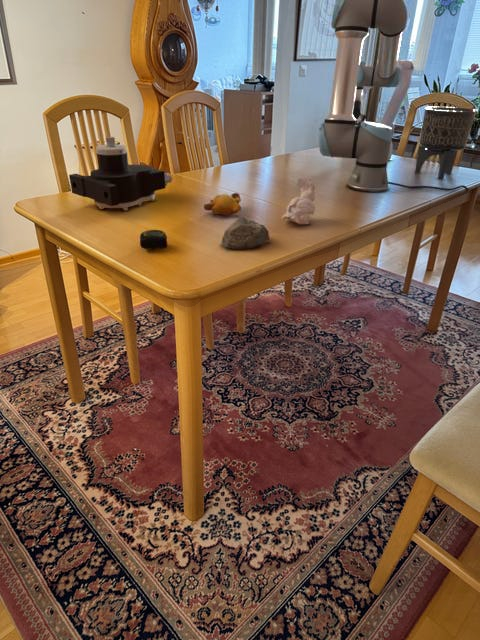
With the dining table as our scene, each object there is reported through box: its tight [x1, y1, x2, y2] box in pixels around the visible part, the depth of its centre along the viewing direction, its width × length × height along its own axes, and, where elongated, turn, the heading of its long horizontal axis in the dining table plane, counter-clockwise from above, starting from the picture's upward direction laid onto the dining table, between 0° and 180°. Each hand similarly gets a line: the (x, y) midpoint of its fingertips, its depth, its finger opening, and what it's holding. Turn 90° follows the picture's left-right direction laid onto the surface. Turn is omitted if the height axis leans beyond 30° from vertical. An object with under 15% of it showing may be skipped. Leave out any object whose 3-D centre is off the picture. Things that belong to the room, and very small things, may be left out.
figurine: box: [281, 177, 316, 225], centre depth 135 cm, size 8×15×13 cm, turn 145°
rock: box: [221, 216, 270, 250], centre depth 119 cm, size 13×9×6 cm, turn 131°
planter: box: [414, 106, 477, 180], centre depth 193 cm, size 20×20×26 cm
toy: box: [203, 192, 242, 216], centre depth 145 cm, size 11×6×15 cm
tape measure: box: [139, 229, 168, 250], centre depth 117 cm, size 7×7×4 cm
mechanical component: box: [68, 136, 173, 211], centre depth 148 cm, size 22×21×30 cm
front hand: (346, 153), depth 218 cm, fingers closed on canister, 5 cm apart
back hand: (352, 136), depth 237 cm, fingers open, 7 cm apart
